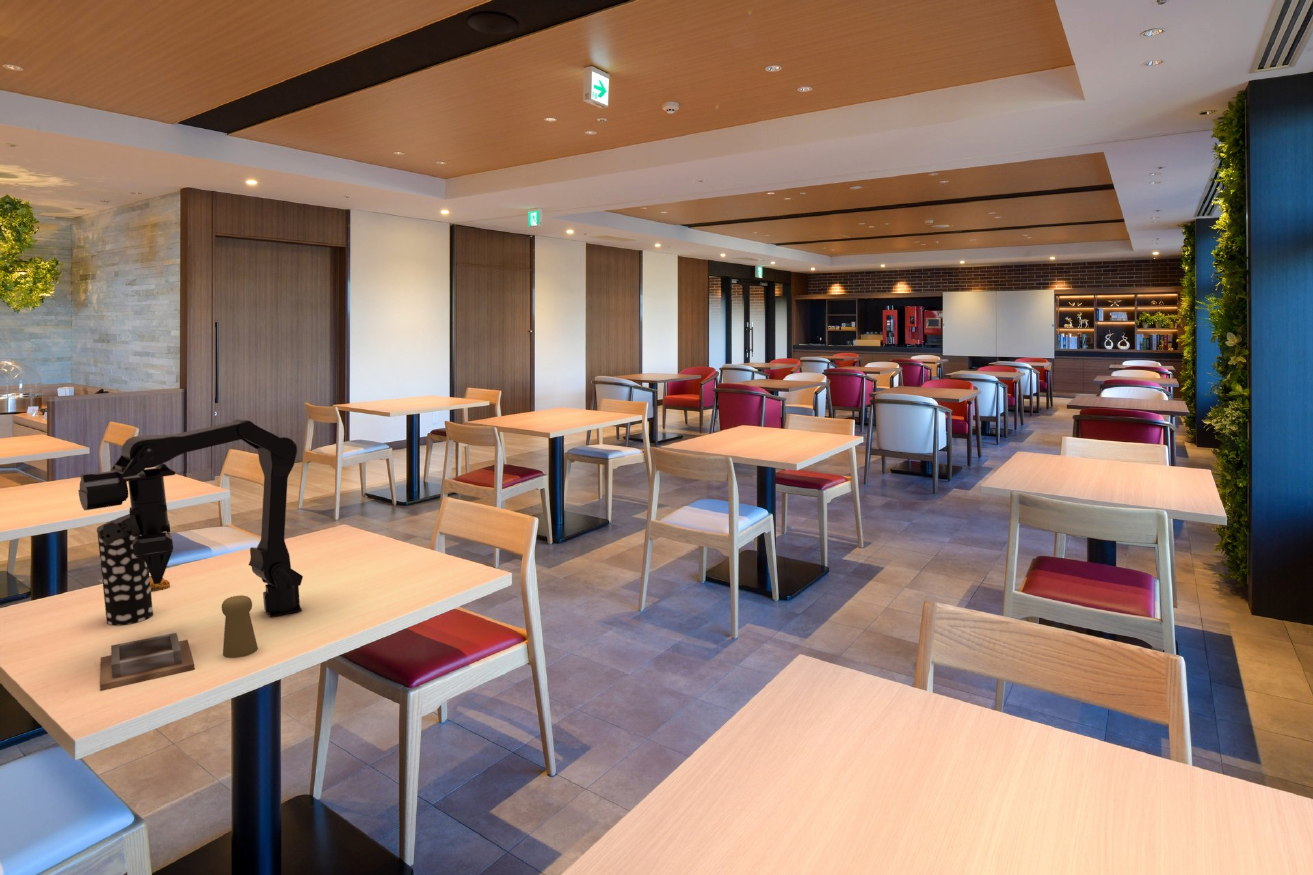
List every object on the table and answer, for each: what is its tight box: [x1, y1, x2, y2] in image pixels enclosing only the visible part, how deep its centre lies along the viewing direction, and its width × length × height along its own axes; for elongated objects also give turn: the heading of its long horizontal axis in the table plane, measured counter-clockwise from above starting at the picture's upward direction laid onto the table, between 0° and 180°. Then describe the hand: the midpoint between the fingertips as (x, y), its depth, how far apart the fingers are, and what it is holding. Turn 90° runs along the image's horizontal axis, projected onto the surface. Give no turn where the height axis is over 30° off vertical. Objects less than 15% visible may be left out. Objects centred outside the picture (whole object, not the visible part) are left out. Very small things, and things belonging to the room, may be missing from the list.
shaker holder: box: [99, 632, 196, 691], centre depth 138 cm, size 14×14×4 cm
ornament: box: [149, 575, 171, 589], centre depth 179 cm, size 7×10×15 cm
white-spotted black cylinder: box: [97, 533, 154, 626], centre depth 161 cm, size 8×8×20 cm
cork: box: [221, 594, 259, 659], centre depth 144 cm, size 6×6×11 cm
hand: (156, 577), depth 147 cm, fingers open, 9 cm apart
